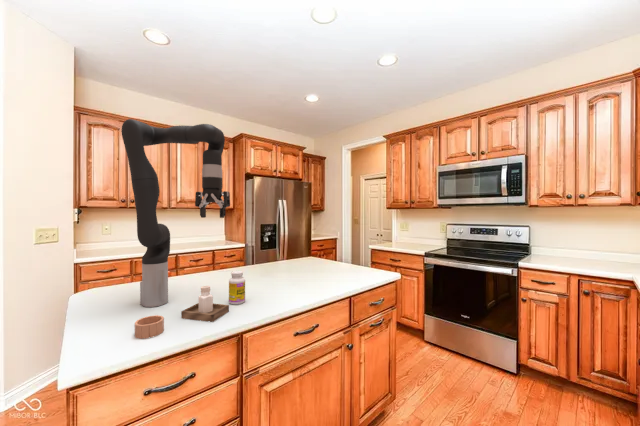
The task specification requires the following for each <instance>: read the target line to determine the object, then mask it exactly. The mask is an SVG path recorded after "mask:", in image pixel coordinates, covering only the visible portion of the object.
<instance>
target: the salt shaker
mask: <svg viewBox="0 0 640 426" xmlns="http://www.w3.org/2000/svg"><path fill="white" fill-rule="evenodd" d="M200 294H201V295H199V296H198V303H199V312H200V313H209V312H212V311H213V303H214V300H213V299H214V296H213V295H212V294H211V286H210V285H203V286H200Z"/></svg>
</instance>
